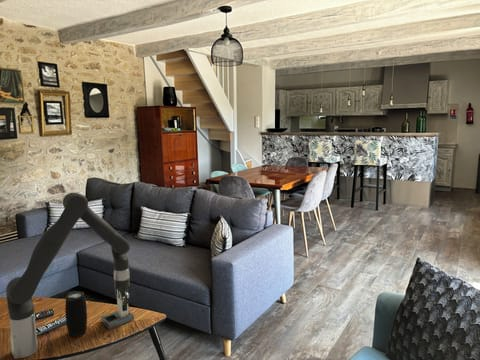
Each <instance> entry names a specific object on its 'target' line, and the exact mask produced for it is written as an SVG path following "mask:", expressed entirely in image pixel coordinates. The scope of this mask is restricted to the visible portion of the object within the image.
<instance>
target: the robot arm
mask: <svg viewBox="0 0 480 360" xmlns="http://www.w3.org/2000/svg"><path fill="white" fill-rule="evenodd" d="M62 205H63V208H64V209H63V210H62V213H61V214H60V216H59V217H58V219H57V220H56V222H54V223H53V224H52V225H51V226H50V227H48V229H47V230H46V231H45V232H44V233H43V235H42V236H41V238H39V241H38V242H37V244H36V245H35V247H34V248H33V251H32V253H31V256H30V260H29V262H28V265H27V266H26V267H27V268H26V269H25V271H24V272H23V273H22V275H21V276H17V277H14V278H12V279H11V280H9V282H8V283H7V285H6V289H5V291H6V293H5V294H6V302H7V303H6V304H7V309H8V310H7V311H8V315H9V323H10V324H9V325H10V333H9V335H10V337H9V338H10V349H11V355H12V356H13V359H14V360H16V359H23V358H24V359H25V358H27V357H30V356H32V355H34V354H35V353H36V352H37V351H38V339H37V328H36V327H37V326H36V313H35V305H34V302H33V296H34V295H35V293H36V290H37V288H38V286H39V284H40V282H41V280H42V279H43V276H44V275H45V273H46V272H47V270H48V269H49V267H50V265H51V264H52V262H53V261H54V259H55V258H56V256H57V255H58V254H59V252H60V250H61V248H62V247H63V245H64V243H65V242H66V240H67V238H68V237H69V235H70V234H71V232H72V230H73V228H74V227H75V225H76V224H77V223H78V221H79V220H82V222H84V223H85V224H86V225H87V226H88V227H89V228H90V229H91V230H92V231H93V232H94V233H95V234H96V235H97V236H98V237H100V238H101V239H102V240H103V241H104V242H106V244H108V245H110V249H111V253H112V258H113V285H114V286H113V287H114V293H115V294H114V295H115V298H116V299H117V297H120V298H121V300H122V310H123V311H126V310H127V304H128V305H129V304H130V301H131V293H129V292H128V288H129V286H130V285H131V282H130V281H131V279H130V267H129V265H130V264H129V258H128V256H127V253H129V251H130V249H131V246H130V245H131V244H130V243H129V241H128V240H127V239H126V238H124V237H123V236H122V235H121V234H119V233H118V231H116V229H114V228H113V227H112V226H111V224H110V223H108V222H107V221H106V220H105V219H103V218H102V217H101V216H100V215H98V214H97V213H95V212H94V211H93V209H91V207H90V206H89V200H88V198H87V197H86V195H85V196H84V195H83V194H81V193H79V192H68V193H67V194H65V196H64V197H63V199H62ZM122 297H125V298H122Z"/></svg>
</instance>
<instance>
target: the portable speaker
mask: <svg viewBox="0 0 480 360" xmlns="http://www.w3.org/2000/svg"><path fill="white" fill-rule="evenodd" d="M64 309H65V310H64V311H65V324H66V330H67V333H68V336H73V337H75V338H79V337H82V336H83V335H84V334H85V332H86V331H87V328H88V327H87V326H88V324H87V323H88V313H87V312H88V311H87V301H86V297H85V293H84V291H76V290H75V291H74V290H73V291H71V292H68V293H67V295H66V297H65V308H64Z"/></svg>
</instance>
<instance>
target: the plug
mask: <svg viewBox="0 0 480 360" xmlns="http://www.w3.org/2000/svg"><path fill="white" fill-rule="evenodd" d="M122 298H125V297H122ZM116 303H117V307H116V308H117V310H116V311H118V315H119V316H120V317H121V318H122V317H124V316H127V315H129V314H128V311H129V304H127V310H126V311H123V310H122V300H121V298H120V297H117V298H116Z"/></svg>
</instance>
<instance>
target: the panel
mask: <svg viewBox="0 0 480 360" xmlns="http://www.w3.org/2000/svg"><path fill="white" fill-rule="evenodd" d="M128 314H129V315H127V316H124V317H122V318H121V317H120V316H119V315H118V310H116V311H114V312H110V313H108V314H104V315H102V316H100V322H101V323H102V324H103V325H104V326H105V327H106V328H107V329H109V330H112V329H114V328H116V327H119V326H122V325H125V324H127V323H129V322H133V321H135V314H133V313H131V312H130V311H129V310H128Z"/></svg>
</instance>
